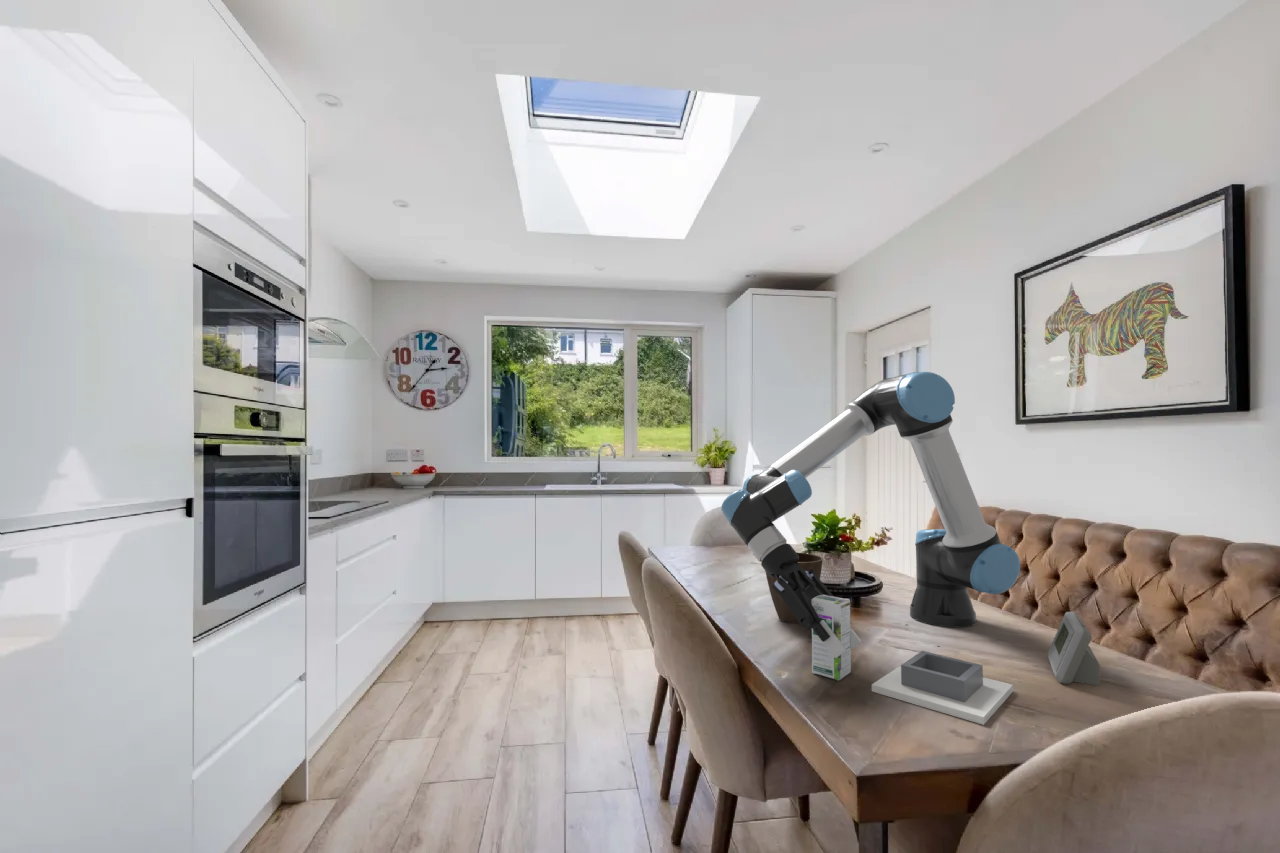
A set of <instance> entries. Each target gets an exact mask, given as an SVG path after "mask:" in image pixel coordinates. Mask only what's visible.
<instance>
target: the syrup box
mask: <svg viewBox="0 0 1280 853" xmlns="http://www.w3.org/2000/svg"><path fill="white" fill-rule="evenodd" d="M833 596H834V595H833ZM833 596H827V595H819V596H816V597H814V598H813V599H812V600H811V604H812V606H813V608H814V610H815V611H816V613H817V615H818V617H819V619H820V621H819V622H821V621H822V620H824V621H825V622H826V623H827V625H828V626H829V627H830V629H831V630H832V631H833V633H834V634H835V635H836V636H837V638H838V639H839V640H840V642H841V643H842V644H843V646H844V647H845V648H846V649H847V650H846V651H845V652H843V653H842V654H841V655H840V656H838V657H837V658H835V657H834V656H833V655H832V653H831V652H830V651H829V649H828V648H827V647H826V645H825V644H824V643H823V641H822V640H821V639H820V638H819V636H818V635H817V634H816V633H815V631H814V630H813V629H812V628H811V673H812V674H813V675H814V674H815V675H819V676H823V677H826V678H829V679H833V680H835V681H840V680H842V679H844V677H846V676H848V675H849V674H850V673H851V671H852V669H851V667H852V664H851V663H852V662H851V660H852V659H851V657H852V655H851V651H852V650H851V648H850V627H851V600H850V598H843V597H838V596H834V597H833Z"/></svg>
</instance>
